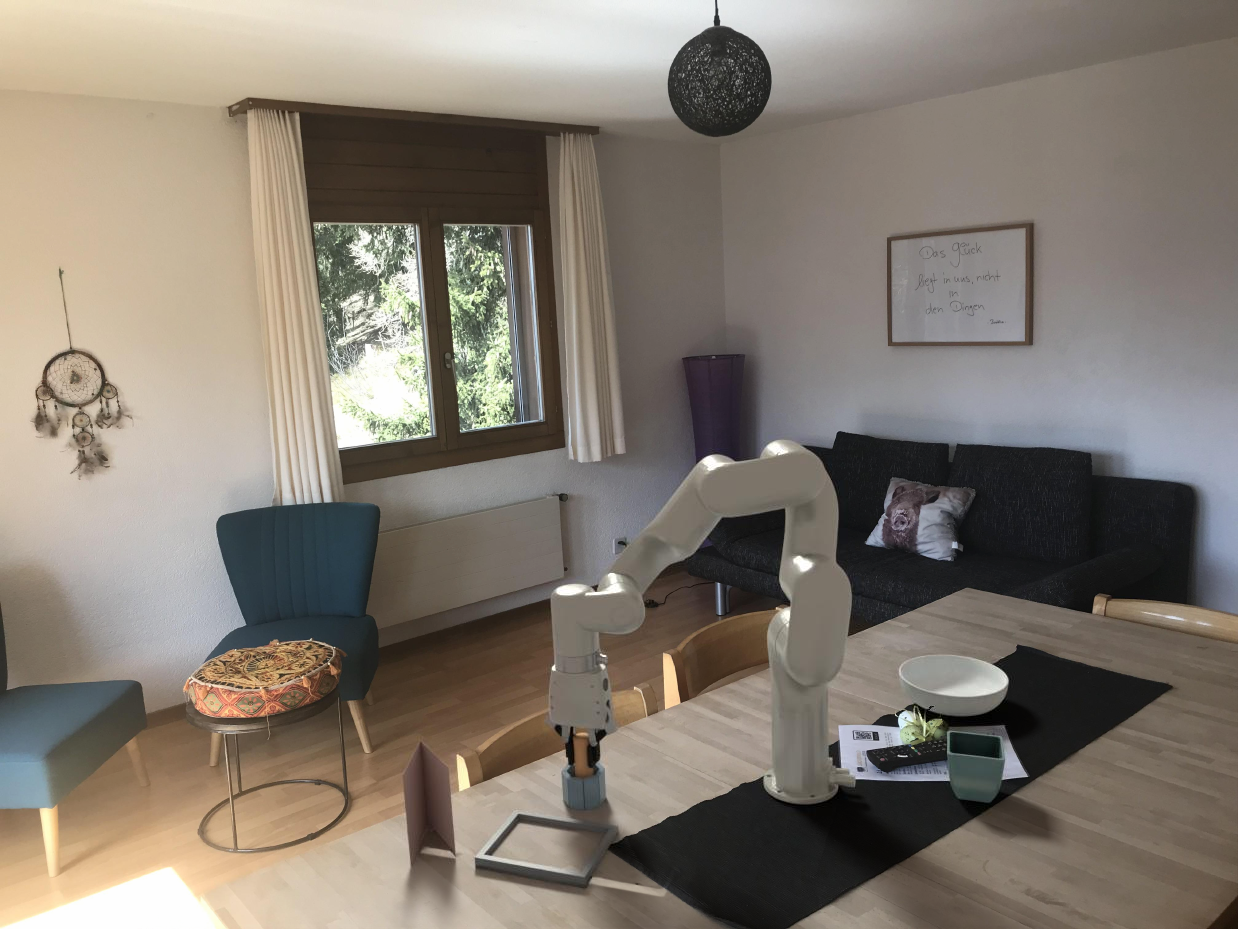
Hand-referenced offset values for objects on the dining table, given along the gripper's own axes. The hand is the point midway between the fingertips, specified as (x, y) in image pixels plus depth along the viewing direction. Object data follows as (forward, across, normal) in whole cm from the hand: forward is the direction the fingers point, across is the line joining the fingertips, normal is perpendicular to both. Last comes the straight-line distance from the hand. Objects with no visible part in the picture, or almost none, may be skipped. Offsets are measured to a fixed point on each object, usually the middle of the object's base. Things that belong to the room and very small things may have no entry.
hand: (583, 762), depth 159 cm
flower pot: (+8, -62, -20) cm, 65 cm away
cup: (+7, 0, 0) cm, 7 cm away
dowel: (+6, 0, 0) cm, 6 cm away
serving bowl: (+8, -58, -55) cm, 80 cm away
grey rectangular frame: (+7, 0, +15) cm, 17 cm away
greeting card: (+7, +18, +18) cm, 27 cm away
